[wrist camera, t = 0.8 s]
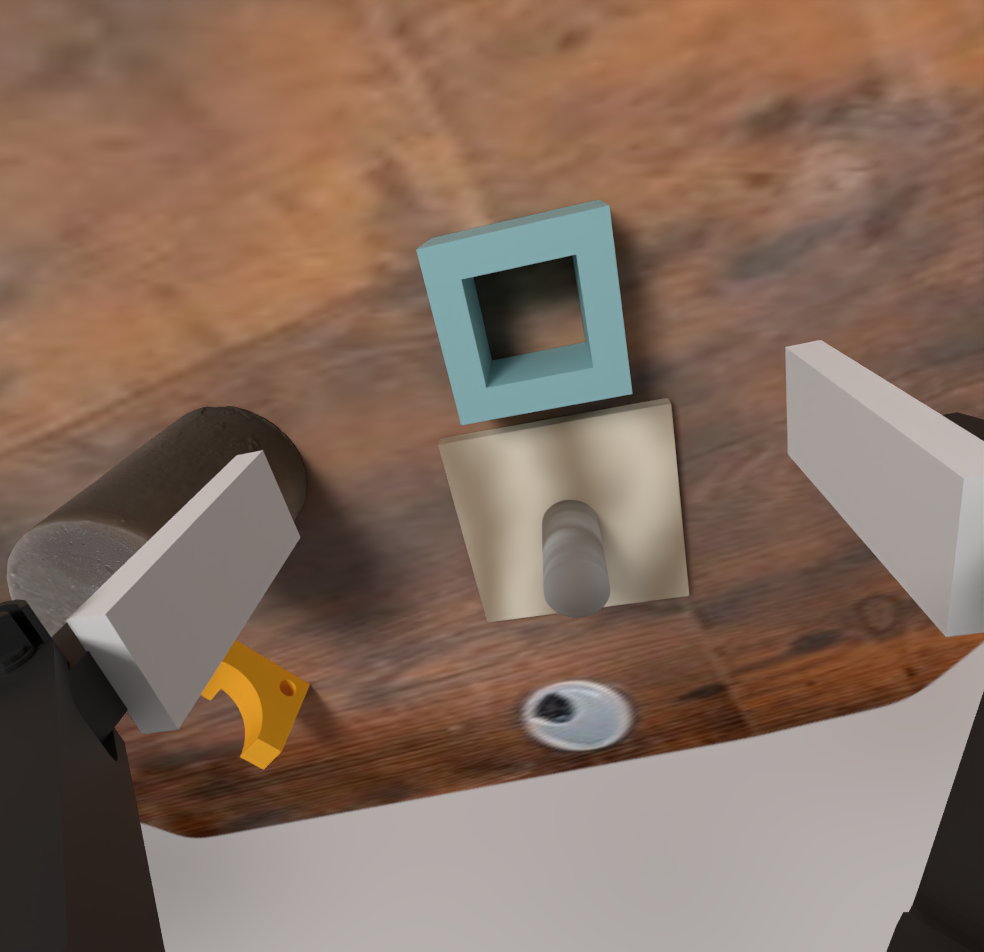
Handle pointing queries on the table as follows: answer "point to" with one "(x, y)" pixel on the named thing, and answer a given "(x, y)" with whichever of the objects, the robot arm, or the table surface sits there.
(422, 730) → the table surface
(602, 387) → the collar
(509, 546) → the post block
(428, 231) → the table surface
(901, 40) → the table surface
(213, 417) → the pillar candle
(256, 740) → the pipe clamp
